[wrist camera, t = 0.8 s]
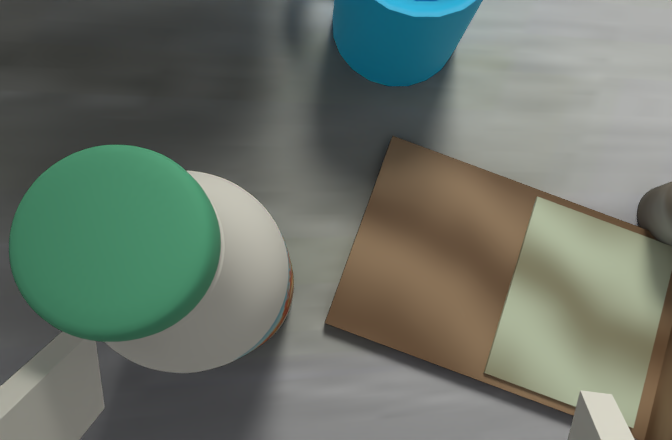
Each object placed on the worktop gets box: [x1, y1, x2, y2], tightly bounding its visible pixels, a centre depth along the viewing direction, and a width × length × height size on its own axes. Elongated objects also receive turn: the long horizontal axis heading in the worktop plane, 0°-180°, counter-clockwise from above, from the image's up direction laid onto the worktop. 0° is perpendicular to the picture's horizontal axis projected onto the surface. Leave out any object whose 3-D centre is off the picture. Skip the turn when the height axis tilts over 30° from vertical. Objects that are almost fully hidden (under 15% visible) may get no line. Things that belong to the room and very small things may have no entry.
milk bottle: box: [9, 145, 294, 373], centre depth 22 cm, size 8×8×20 cm
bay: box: [325, 136, 672, 440], centre depth 31 cm, size 16×21×5 cm
